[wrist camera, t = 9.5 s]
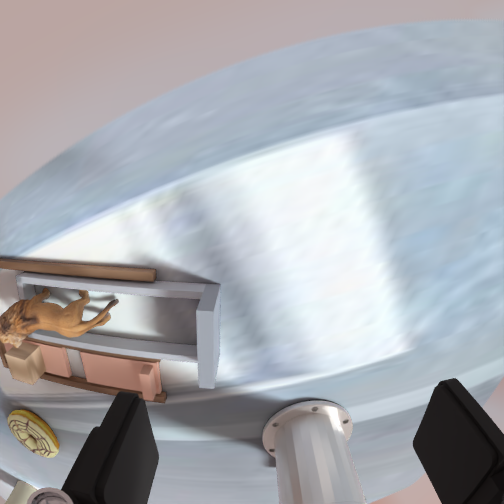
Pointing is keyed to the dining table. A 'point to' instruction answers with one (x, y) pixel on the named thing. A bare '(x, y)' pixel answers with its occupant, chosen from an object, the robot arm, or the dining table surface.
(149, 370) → the broken strip
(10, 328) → the lion figurine
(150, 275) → the lane rails
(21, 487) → the can
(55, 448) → the decorated donut
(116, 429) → the robot arm
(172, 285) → the grey long open box
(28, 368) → the cube
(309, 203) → the dining table surface
